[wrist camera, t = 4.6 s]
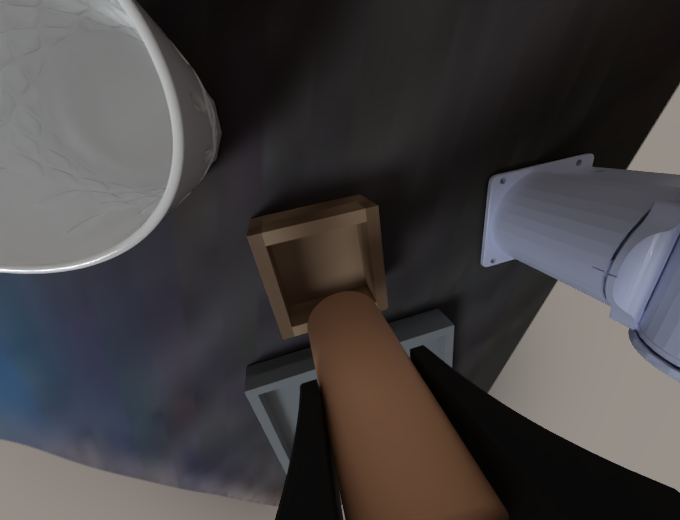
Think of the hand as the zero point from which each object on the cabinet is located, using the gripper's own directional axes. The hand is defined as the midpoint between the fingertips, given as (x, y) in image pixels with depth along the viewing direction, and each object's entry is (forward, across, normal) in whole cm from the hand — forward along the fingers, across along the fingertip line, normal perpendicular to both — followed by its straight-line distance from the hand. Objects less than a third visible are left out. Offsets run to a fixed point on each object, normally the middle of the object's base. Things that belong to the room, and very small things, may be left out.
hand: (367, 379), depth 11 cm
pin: (+4, 0, 0) cm, 4 cm away
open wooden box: (+10, 0, -1) cm, 10 cm away
